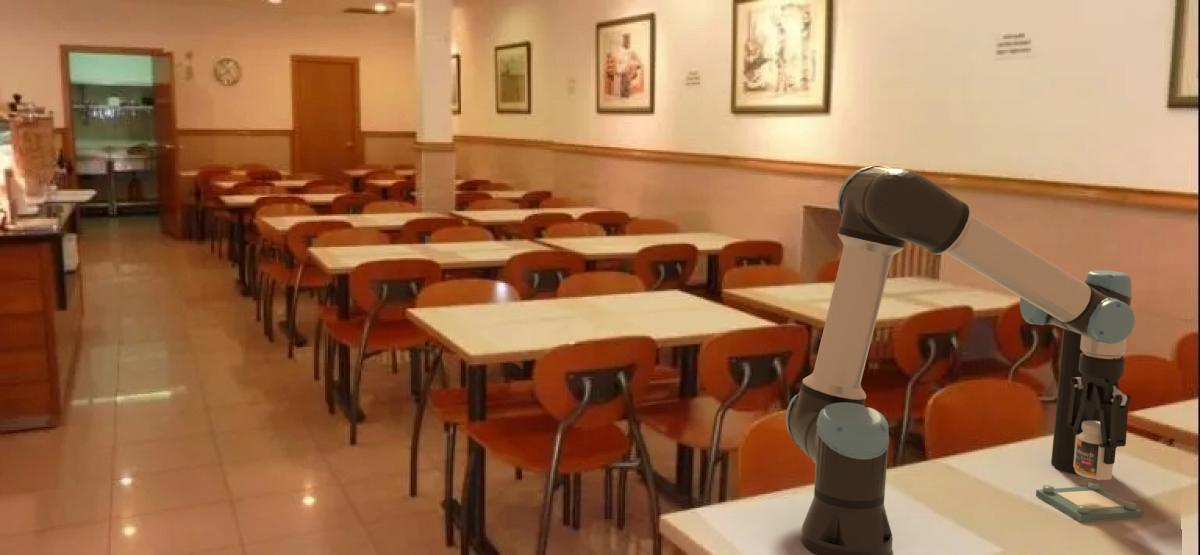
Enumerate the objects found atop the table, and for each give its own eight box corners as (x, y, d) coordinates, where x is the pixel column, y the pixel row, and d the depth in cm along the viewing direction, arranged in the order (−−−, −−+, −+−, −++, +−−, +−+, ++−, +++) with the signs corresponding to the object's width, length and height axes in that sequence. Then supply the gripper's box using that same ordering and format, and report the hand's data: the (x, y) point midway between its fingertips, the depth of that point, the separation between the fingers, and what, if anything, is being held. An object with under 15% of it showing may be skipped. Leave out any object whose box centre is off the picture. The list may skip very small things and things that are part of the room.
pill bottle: (1067, 471, 188) (1071, 421, 186) (1088, 467, 190) (1092, 418, 189) (1093, 481, 183) (1098, 429, 181) (1114, 477, 185) (1119, 426, 184)
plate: (1080, 521, 180) (1081, 510, 180) (1035, 495, 193) (1036, 484, 192) (1142, 517, 183) (1143, 506, 182) (1094, 491, 195) (1095, 481, 195)
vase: (1113, 476, 204) (1128, 335, 199) (1065, 475, 204) (1078, 334, 199) (1089, 459, 214) (1102, 324, 209) (1042, 459, 214) (1055, 324, 209)
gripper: (1157, 365, 175) (1145, 489, 178) (1086, 342, 193) (1076, 455, 196) (1120, 367, 173) (1108, 492, 177) (1052, 343, 191) (1043, 457, 195)
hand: (1092, 472), depth 187 cm, fingers closed on pill bottle, 6 cm apart
